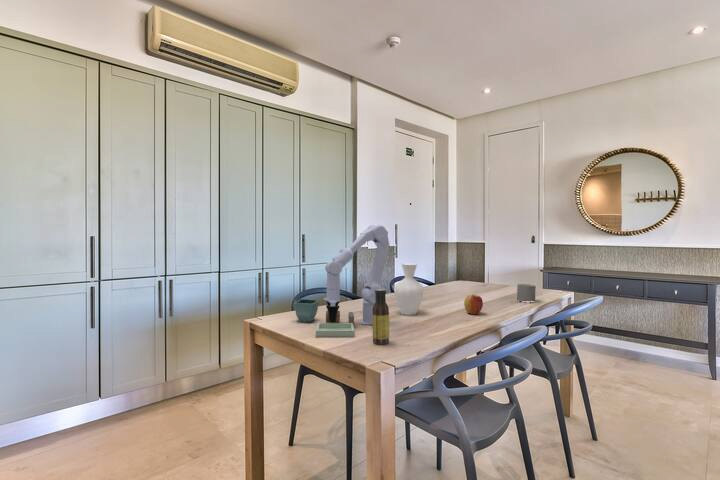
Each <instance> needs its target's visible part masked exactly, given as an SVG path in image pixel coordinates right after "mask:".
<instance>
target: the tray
mask: <svg viewBox="0 0 720 480" xmlns="http://www.w3.org/2000/svg"><path fill="white" fill-rule="evenodd" d="M315 338H355V325H354V326H353V323H348V322H340V323H326V322H317V323H316V328H315Z"/></svg>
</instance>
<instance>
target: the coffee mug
mask: <svg viewBox="0 0 720 480" xmlns="http://www.w3.org/2000/svg"><path fill="white" fill-rule="evenodd" d="M516 286H517V288H516V294H517V295H516V301H517V300H519V301H535V302H536V285H535V284H530V283H518V284H517V285H516Z"/></svg>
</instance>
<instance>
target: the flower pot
mask: <svg viewBox="0 0 720 480" xmlns="http://www.w3.org/2000/svg"><path fill="white" fill-rule="evenodd" d="M319 301H320V300H318V299H304V298H303V299H299V300H296V301H295V302H294V308H295V310H294V312H295V315H296V317H297V319H298V321H299V322H304V323H305V322H306V323H310V322H311V323H312V321H314V319H315V317H316V315H317V313H318V308H319V303H320V302H319Z"/></svg>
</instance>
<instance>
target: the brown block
mask: <svg viewBox="0 0 720 480" xmlns="http://www.w3.org/2000/svg"><path fill="white" fill-rule="evenodd" d="M325 323H341V310H338V311H337V315H336V320H335V322H330V319H329V313H328V310H326V311H325Z"/></svg>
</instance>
